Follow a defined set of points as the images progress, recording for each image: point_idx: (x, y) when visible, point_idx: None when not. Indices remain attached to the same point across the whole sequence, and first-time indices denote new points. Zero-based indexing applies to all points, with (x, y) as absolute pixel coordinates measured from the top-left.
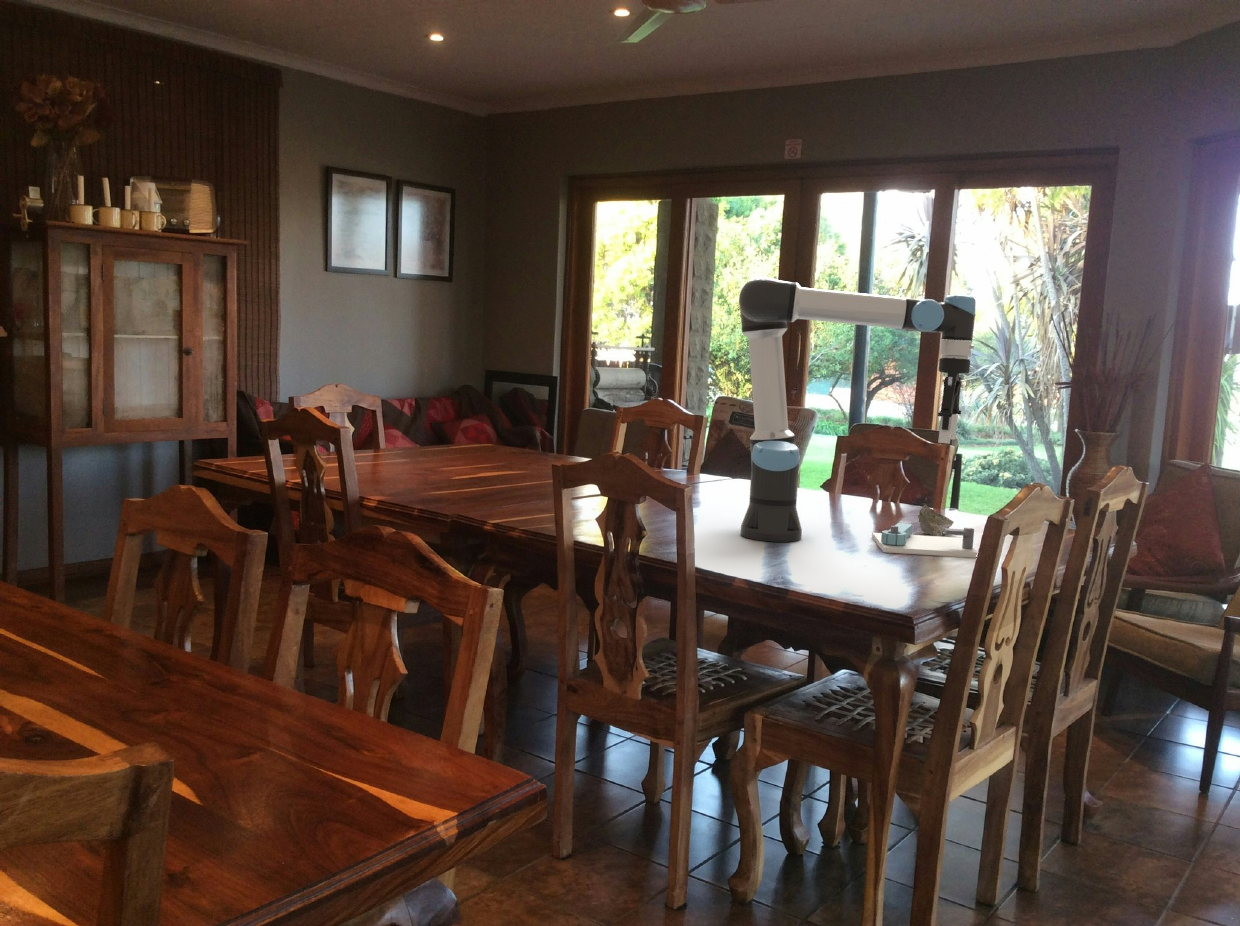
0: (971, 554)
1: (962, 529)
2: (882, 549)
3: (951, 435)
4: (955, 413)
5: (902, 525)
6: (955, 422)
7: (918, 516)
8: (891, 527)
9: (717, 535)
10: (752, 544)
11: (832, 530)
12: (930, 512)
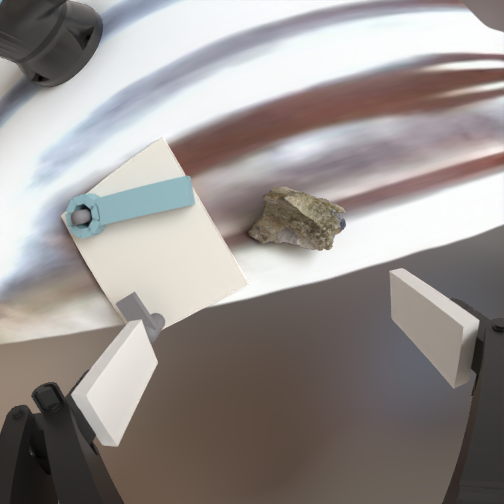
0: None
1: (148, 323)
2: None
3: (398, 308)
4: (477, 369)
5: (161, 195)
6: (430, 355)
7: (273, 188)
8: (72, 214)
9: None
10: (12, 73)
11: (178, 60)
12: (292, 211)
